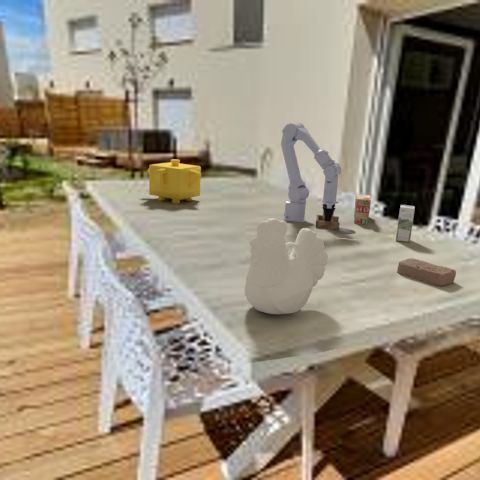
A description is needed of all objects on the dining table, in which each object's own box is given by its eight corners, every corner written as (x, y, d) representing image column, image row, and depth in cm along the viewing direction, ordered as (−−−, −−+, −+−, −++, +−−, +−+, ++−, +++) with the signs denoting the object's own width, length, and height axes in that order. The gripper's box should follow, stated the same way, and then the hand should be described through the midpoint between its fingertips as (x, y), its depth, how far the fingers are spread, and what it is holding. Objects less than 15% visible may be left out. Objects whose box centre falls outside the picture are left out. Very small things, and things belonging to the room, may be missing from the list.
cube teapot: (217, 200, 274) (219, 160, 268) (182, 208, 250) (183, 165, 244) (167, 191, 292) (167, 154, 286) (130, 198, 267) (129, 157, 262)
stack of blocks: (353, 215, 255) (356, 190, 252) (366, 216, 254) (369, 191, 250) (354, 224, 235) (356, 198, 231) (367, 226, 233) (371, 199, 230)
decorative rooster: (255, 326, 125) (261, 227, 118) (233, 301, 139) (237, 212, 132) (343, 315, 134) (354, 223, 127) (314, 293, 148) (322, 209, 141)
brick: (395, 273, 170) (397, 260, 169) (409, 269, 175) (411, 255, 174) (441, 288, 158) (444, 274, 157) (455, 283, 163) (457, 269, 162)
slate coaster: (331, 234, 215) (331, 232, 215) (331, 228, 225) (331, 227, 225) (356, 236, 214) (356, 235, 214) (354, 230, 223) (354, 229, 223)
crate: (315, 228, 224) (316, 220, 223) (316, 222, 236) (316, 214, 235) (338, 230, 222) (339, 222, 221) (338, 223, 234) (338, 216, 233)
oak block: (322, 225, 227) (323, 211, 225) (322, 223, 231) (323, 209, 229) (332, 226, 226) (333, 212, 224) (332, 224, 230) (333, 210, 229)
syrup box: (410, 239, 213) (415, 205, 209) (409, 243, 207) (414, 208, 204) (396, 237, 215) (400, 204, 211) (395, 241, 209) (400, 206, 205)
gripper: (340, 194, 217) (336, 225, 221) (339, 189, 231) (336, 218, 235) (323, 193, 218) (320, 224, 222) (323, 187, 232) (320, 217, 236)
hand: (327, 221), depth 228 cm, fingers closed on oak block, 4 cm apart
